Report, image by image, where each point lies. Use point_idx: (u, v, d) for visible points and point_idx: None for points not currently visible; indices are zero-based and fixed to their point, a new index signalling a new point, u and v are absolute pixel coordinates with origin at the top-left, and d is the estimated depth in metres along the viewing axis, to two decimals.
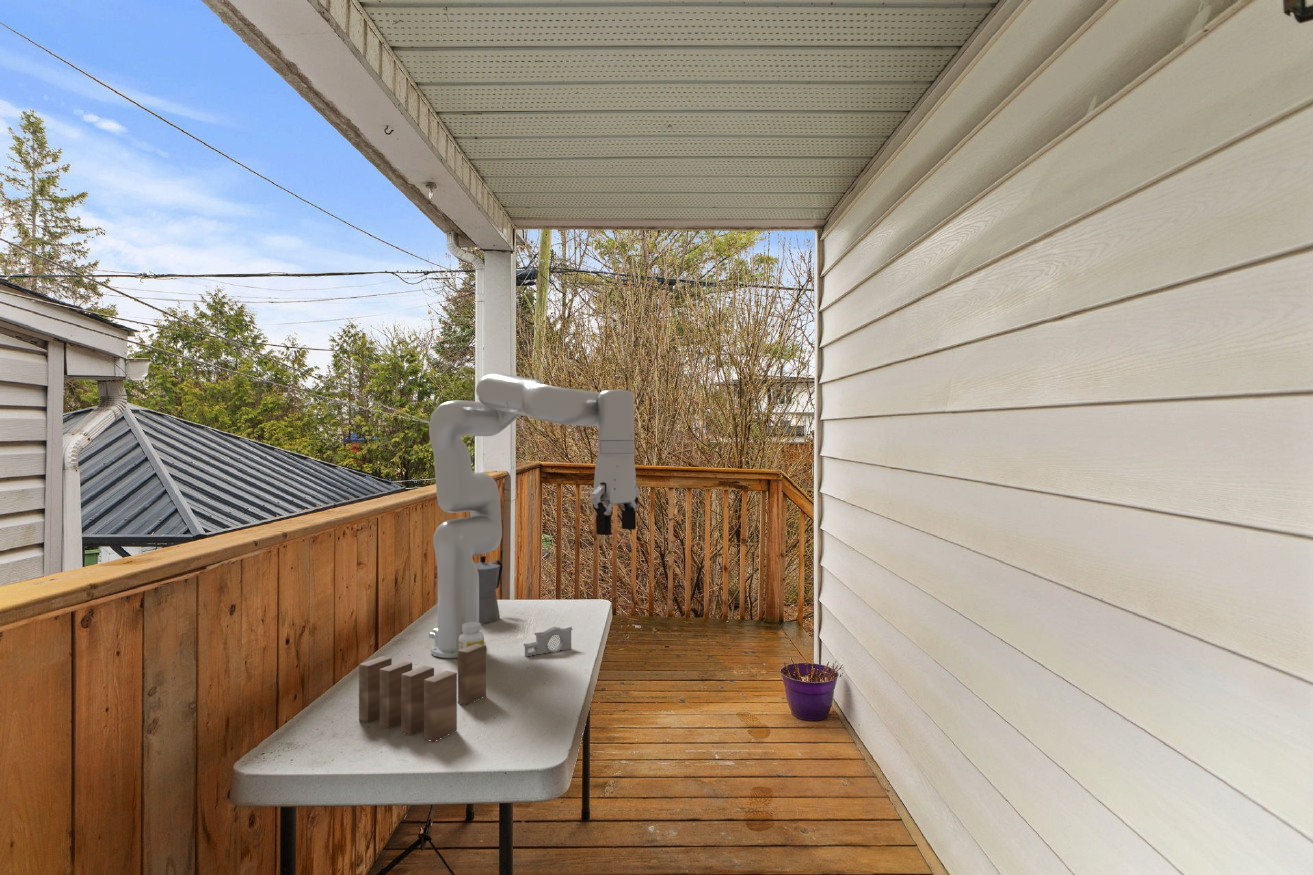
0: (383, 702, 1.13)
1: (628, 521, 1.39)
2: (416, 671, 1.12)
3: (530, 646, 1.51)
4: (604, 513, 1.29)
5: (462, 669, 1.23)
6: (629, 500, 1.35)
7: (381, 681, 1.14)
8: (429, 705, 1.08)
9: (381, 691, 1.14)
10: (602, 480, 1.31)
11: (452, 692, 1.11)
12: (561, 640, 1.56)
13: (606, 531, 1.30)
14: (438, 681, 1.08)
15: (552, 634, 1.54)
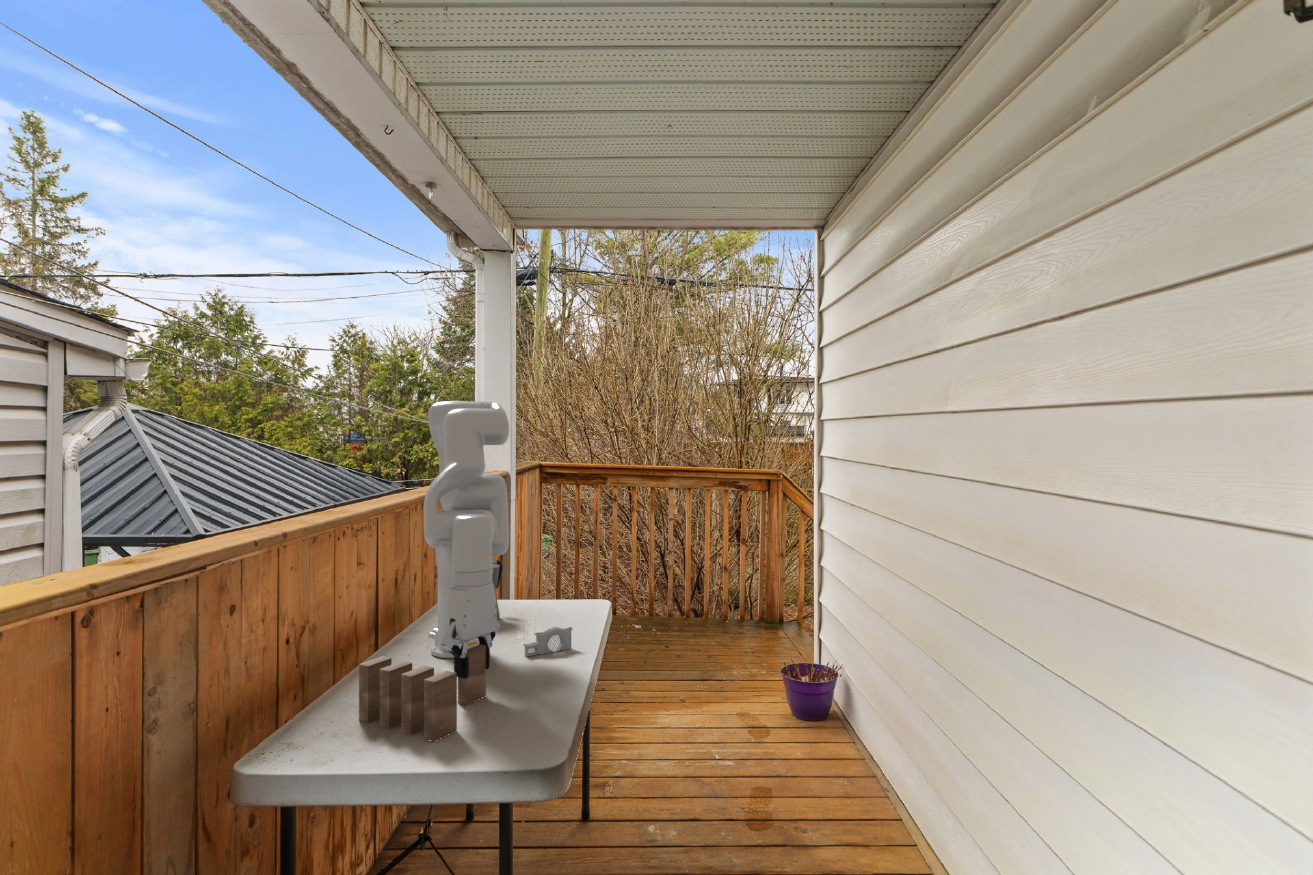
0: (383, 702, 1.13)
1: None
2: (416, 671, 1.12)
3: (530, 646, 1.51)
4: (460, 657, 1.22)
5: None
6: (486, 632, 1.26)
7: (381, 681, 1.14)
8: (429, 705, 1.08)
9: (381, 691, 1.14)
10: (452, 616, 1.21)
11: (452, 692, 1.11)
12: (561, 640, 1.56)
13: (463, 674, 1.22)
14: (438, 681, 1.08)
15: (552, 634, 1.54)
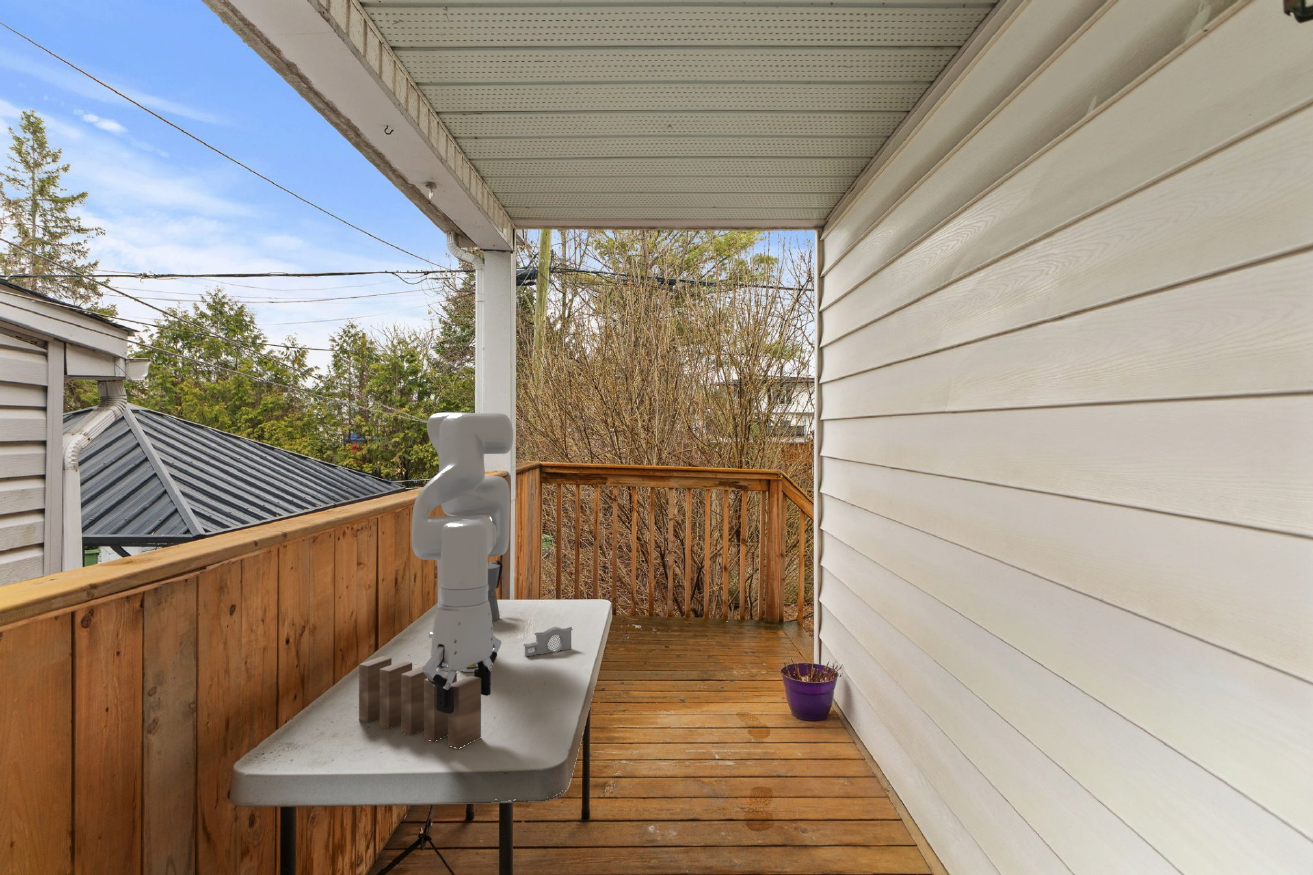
0: (383, 702, 1.13)
1: (481, 685, 1.11)
2: (416, 671, 1.12)
3: (530, 646, 1.51)
4: (443, 688, 1.02)
5: None
6: (481, 659, 1.08)
7: (381, 681, 1.14)
8: (429, 705, 1.08)
9: (381, 691, 1.14)
10: (440, 641, 1.03)
11: None
12: (561, 640, 1.56)
13: (447, 708, 1.03)
14: None
15: (552, 634, 1.54)
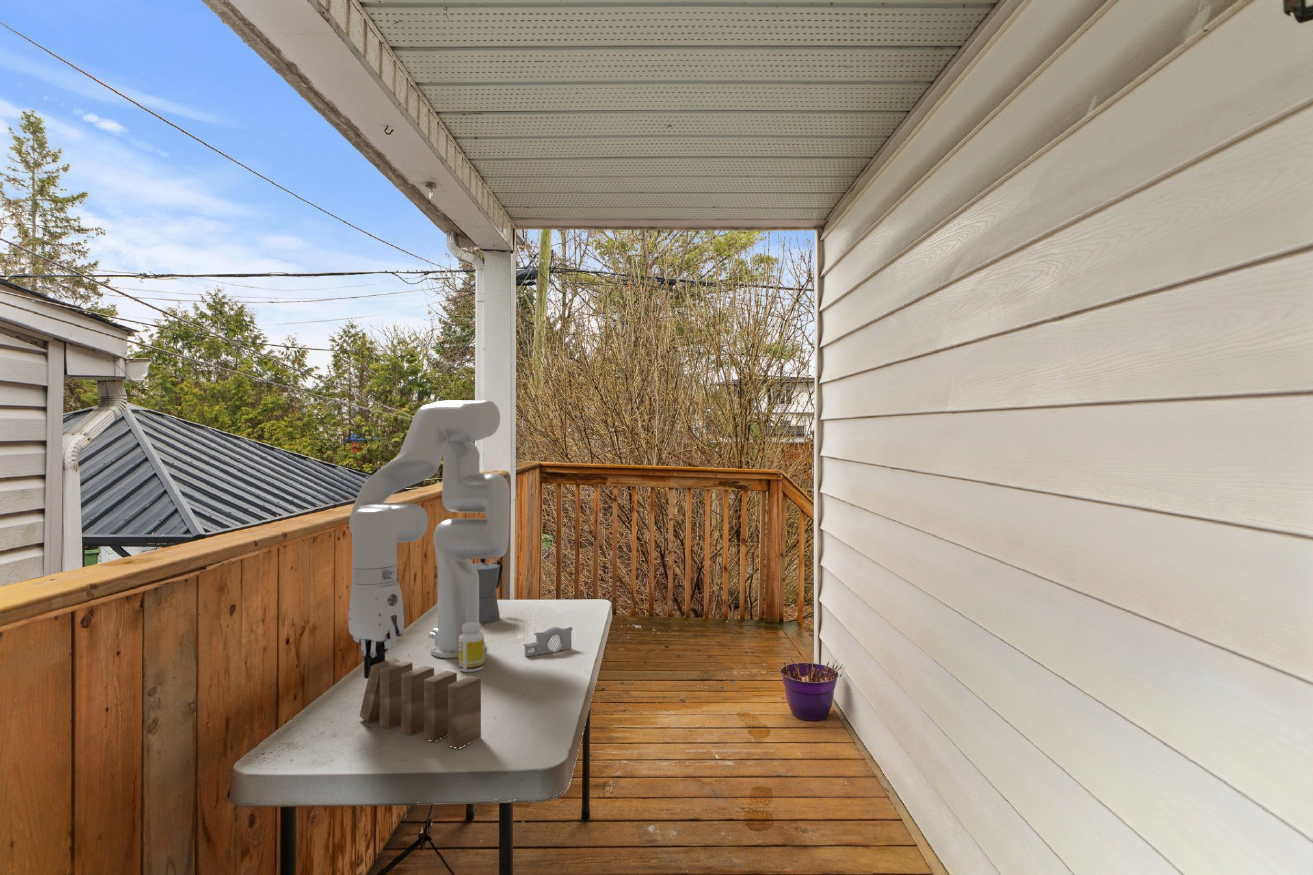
0: (384, 702, 1.13)
1: None
2: (416, 671, 1.12)
3: (530, 646, 1.51)
4: None
5: (453, 707, 1.05)
6: (371, 638, 1.16)
7: (381, 681, 1.14)
8: (429, 705, 1.08)
9: (381, 691, 1.14)
10: None
11: None
12: (561, 640, 1.56)
13: None
14: (438, 681, 1.08)
15: (552, 634, 1.54)
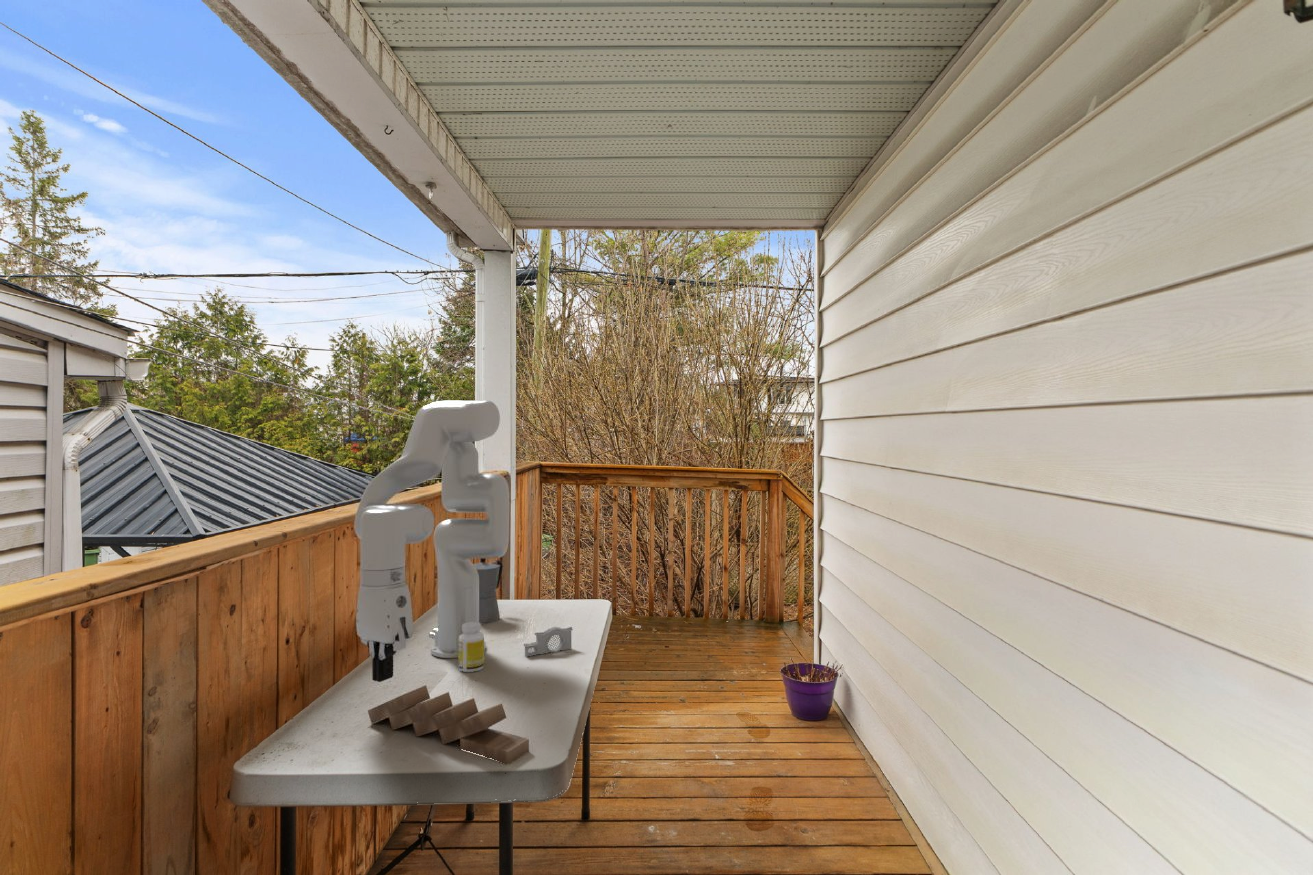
0: (406, 716, 1.10)
1: None
2: (463, 711, 1.07)
3: (530, 646, 1.51)
4: None
5: (491, 754, 1.01)
6: (380, 640, 1.15)
7: (418, 707, 1.09)
8: (465, 728, 1.04)
9: (412, 710, 1.10)
10: None
11: None
12: (561, 640, 1.56)
13: None
14: (488, 727, 1.03)
15: (552, 634, 1.54)
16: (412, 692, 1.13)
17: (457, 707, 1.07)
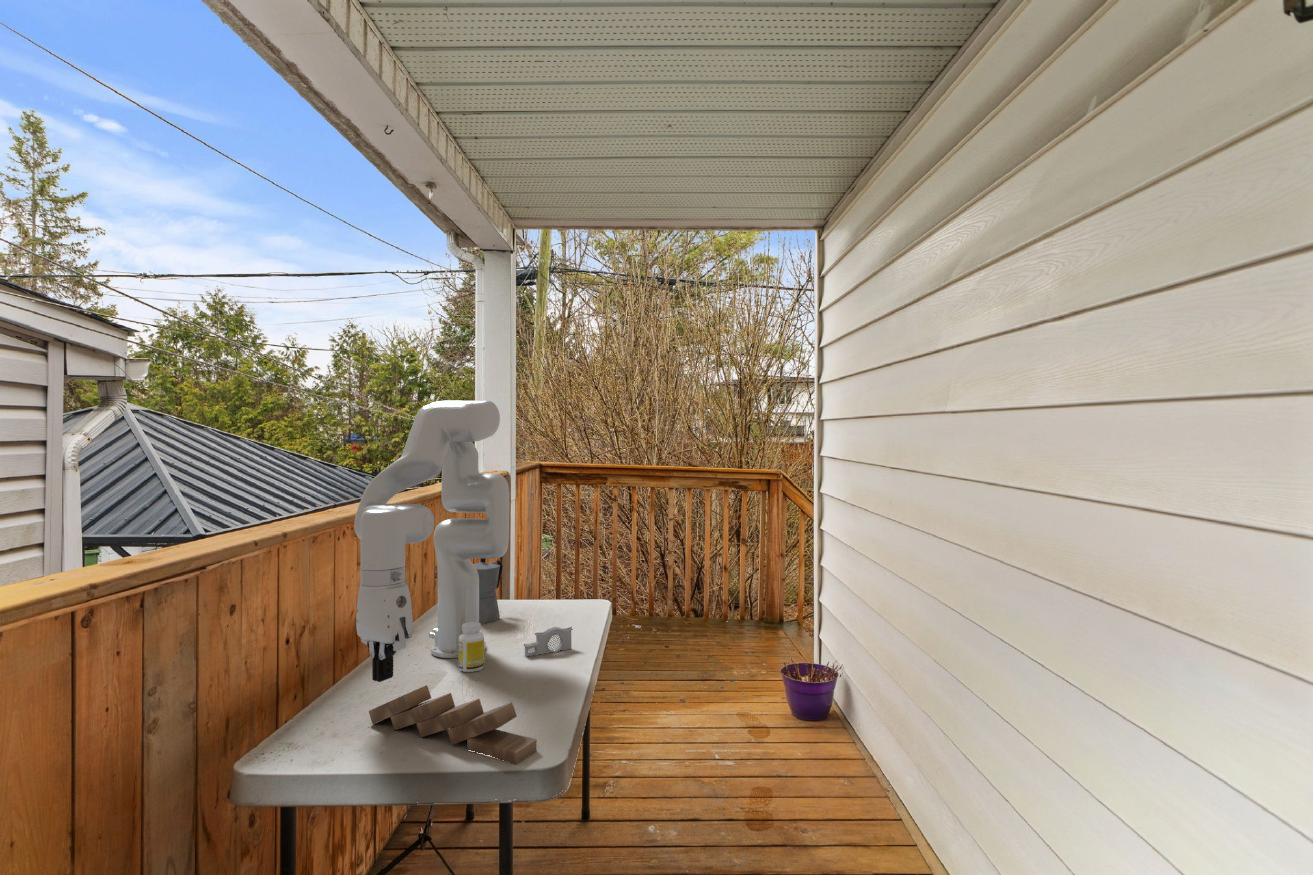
0: (408, 717, 1.10)
1: None
2: (470, 712, 1.07)
3: (530, 646, 1.51)
4: None
5: (499, 755, 1.01)
6: (380, 640, 1.15)
7: (421, 708, 1.09)
8: (477, 728, 1.04)
9: (414, 711, 1.10)
10: None
11: None
12: (561, 640, 1.56)
13: None
14: None
15: (552, 634, 1.54)
16: (414, 692, 1.13)
17: (464, 708, 1.07)
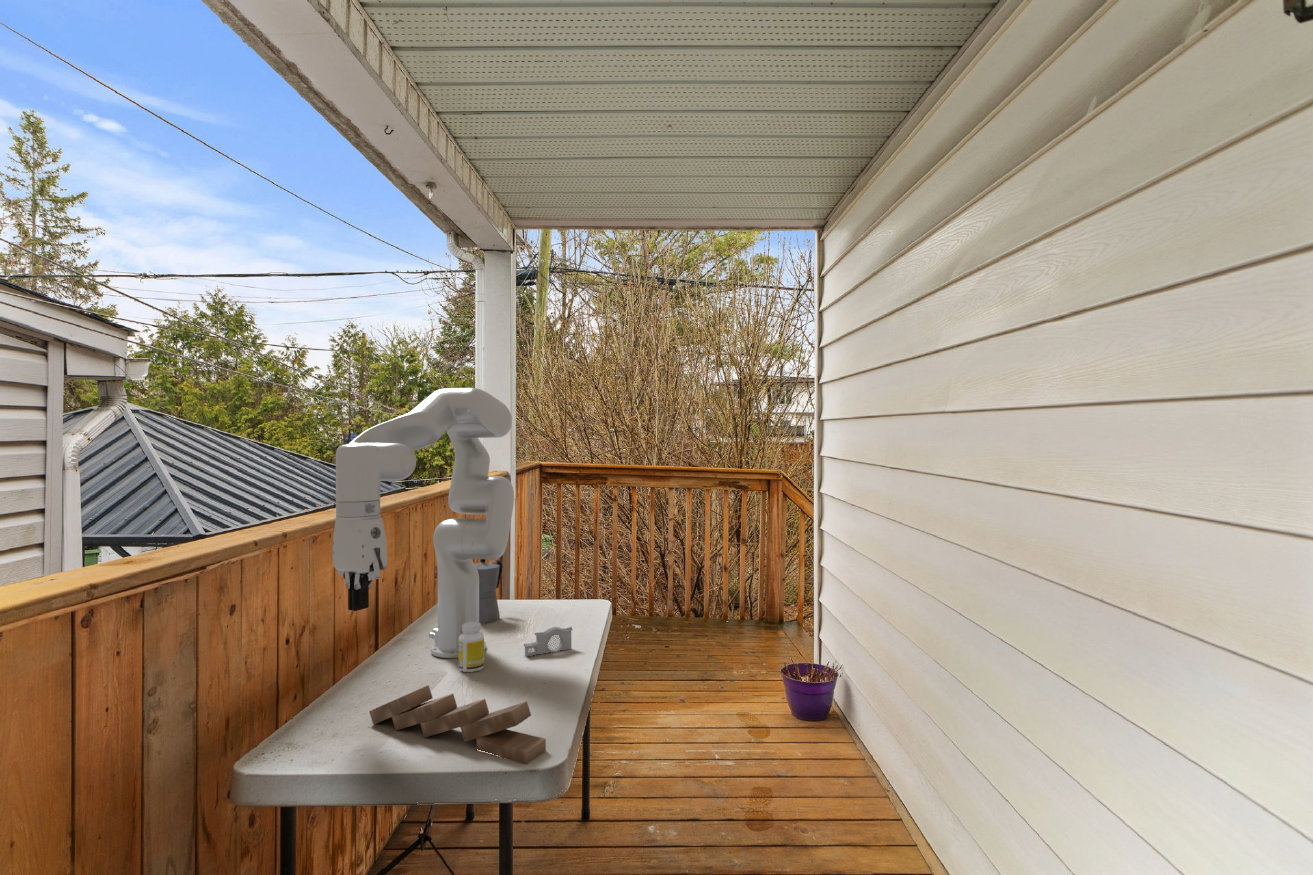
0: (411, 717, 1.10)
1: None
2: (476, 712, 1.08)
3: (530, 646, 1.51)
4: None
5: (508, 755, 1.01)
6: (355, 570, 1.18)
7: (424, 709, 1.09)
8: (493, 725, 1.05)
9: (417, 711, 1.10)
10: None
11: None
12: (561, 640, 1.56)
13: None
14: None
15: (552, 634, 1.54)
16: (415, 692, 1.13)
17: (471, 708, 1.07)
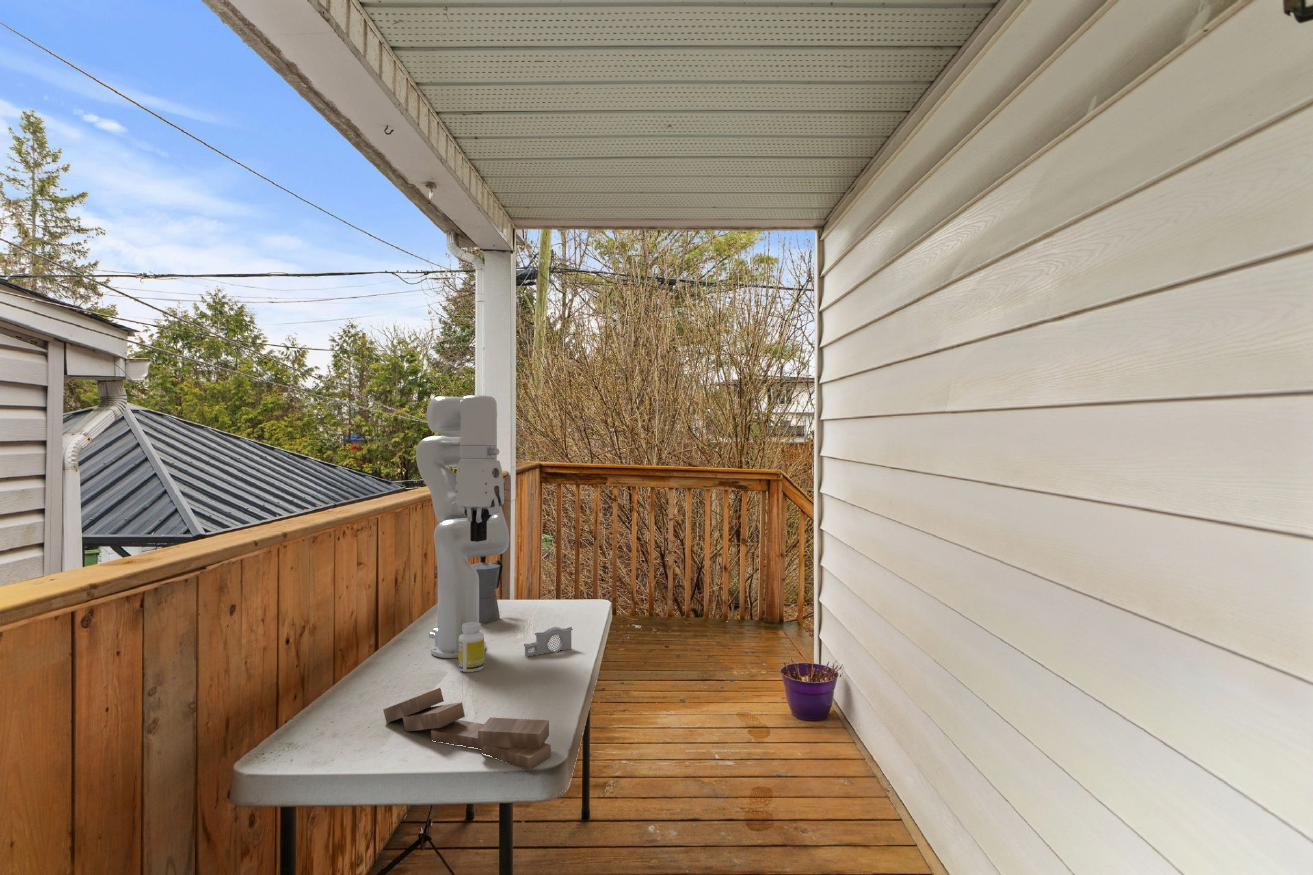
0: (418, 722, 1.09)
1: None
2: None
3: (530, 646, 1.51)
4: None
5: (512, 760, 1.00)
6: (478, 505, 1.35)
7: (430, 716, 1.08)
8: (514, 741, 1.01)
9: (424, 717, 1.09)
10: None
11: None
12: (561, 640, 1.56)
13: None
14: (540, 747, 1.02)
15: (552, 634, 1.54)
16: (426, 694, 1.12)
17: None
